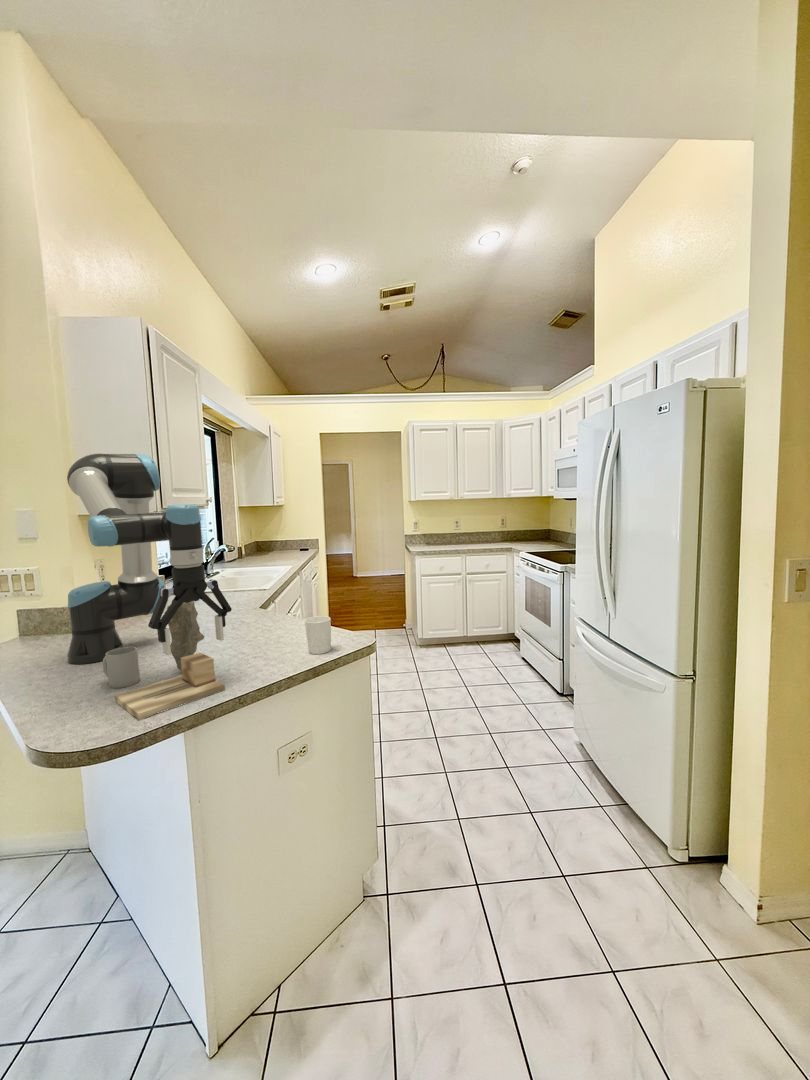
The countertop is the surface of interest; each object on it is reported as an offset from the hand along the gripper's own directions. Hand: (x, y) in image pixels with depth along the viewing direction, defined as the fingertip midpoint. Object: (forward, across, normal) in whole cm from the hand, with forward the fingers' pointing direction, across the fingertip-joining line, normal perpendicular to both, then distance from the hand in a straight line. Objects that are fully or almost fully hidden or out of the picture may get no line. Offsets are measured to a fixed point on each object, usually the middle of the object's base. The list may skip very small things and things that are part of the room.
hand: (194, 646), depth 121 cm
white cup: (+11, +36, -5) cm, 38 cm away
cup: (+11, -12, +20) cm, 26 cm away
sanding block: (+9, 0, -1) cm, 9 cm away
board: (+10, -7, -1) cm, 13 cm away
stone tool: (+11, +4, +15) cm, 19 cm away
